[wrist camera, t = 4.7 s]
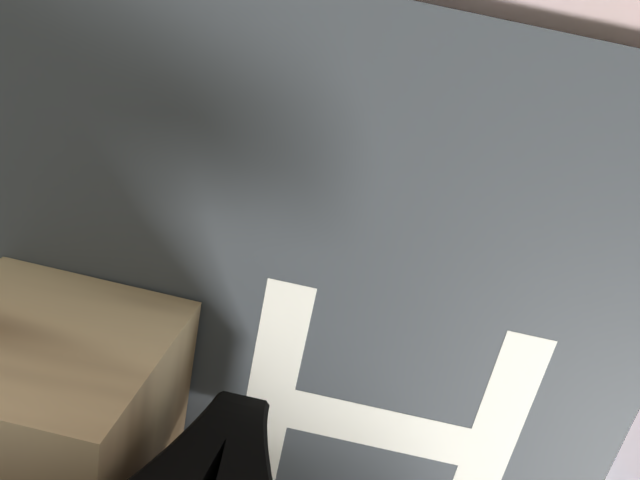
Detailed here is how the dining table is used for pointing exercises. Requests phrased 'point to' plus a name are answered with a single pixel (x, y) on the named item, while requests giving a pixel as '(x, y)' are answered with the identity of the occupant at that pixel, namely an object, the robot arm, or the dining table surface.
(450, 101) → the letter board
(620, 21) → the dining table surface
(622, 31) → the dining table surface
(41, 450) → the maple block
